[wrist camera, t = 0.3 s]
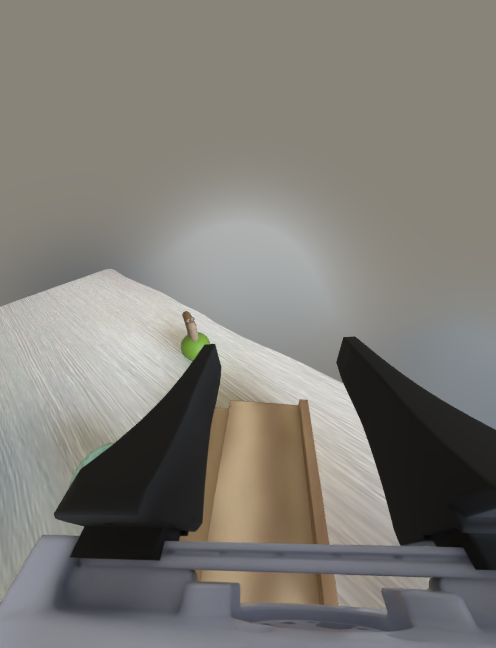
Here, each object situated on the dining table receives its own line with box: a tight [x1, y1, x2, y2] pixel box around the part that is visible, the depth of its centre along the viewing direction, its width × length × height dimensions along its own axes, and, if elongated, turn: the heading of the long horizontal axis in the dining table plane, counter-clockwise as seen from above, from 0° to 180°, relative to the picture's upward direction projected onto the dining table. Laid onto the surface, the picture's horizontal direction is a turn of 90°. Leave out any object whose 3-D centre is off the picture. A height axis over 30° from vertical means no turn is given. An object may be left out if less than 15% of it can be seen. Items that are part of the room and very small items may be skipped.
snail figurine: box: [181, 311, 210, 360], centre depth 34 cm, size 5×6×12 cm
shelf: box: [179, 400, 339, 606], centre depth 21 cm, size 17×16×6 cm
